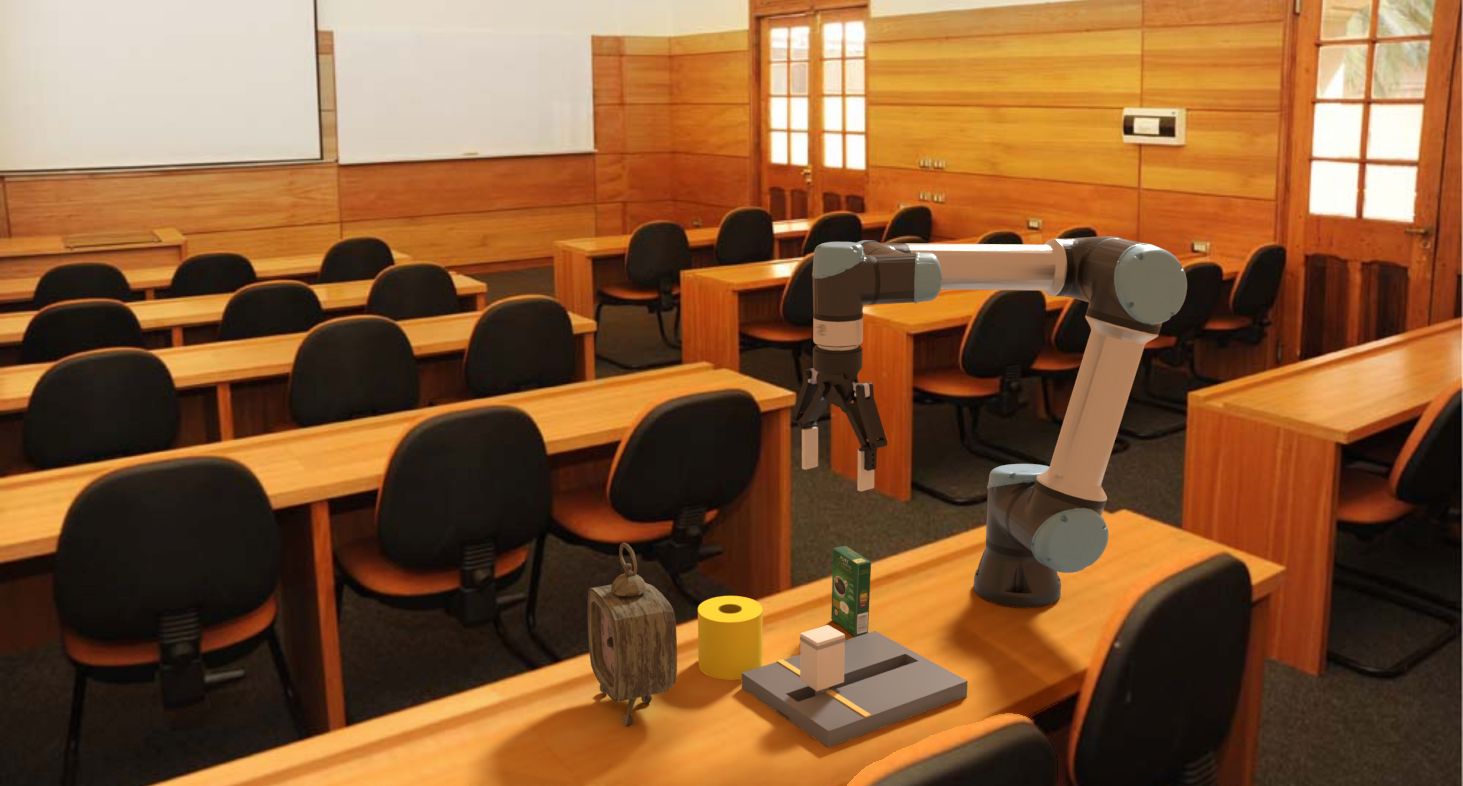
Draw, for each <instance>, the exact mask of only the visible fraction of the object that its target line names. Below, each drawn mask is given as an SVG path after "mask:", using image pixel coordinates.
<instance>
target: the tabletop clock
mask: <svg viewBox="0 0 1463 786" xmlns="http://www.w3.org/2000/svg"><path fill="white" fill-rule="evenodd" d="M624 549H626V551H627V552H628V554H629V555H630V557H631V560H632V564H633V565H632V564H631V563H630V562H628V563H626V561H625V559H624V555H623V551H624ZM618 550H619V553H618V554H619V555H618V556H619V559H620V564H621V566H622V569H623V570H624V573H622V574H620V575H618V576H617V577H616V578H614V580H613V581H612V584H608V585H603V586H602V585H601V586H595V587H589V588H588V589H587V608H586V609H587V636H588V637H587V639H588V652H589V658H590V659H589V660H590V666H591V669H592V672H593V674H594V676H595V678H596V680H597V681H598V683H599V684H600V685H599V691H600V692H601V693H603V694H606V695H607V696H608V697H609V698H610V699H611V700H612V701H613V702H616V703H619V702H624V701H628V704H627V705H628V706H627V713H626V714H625V715H624V716H622V719H621V720H622V724H623V725H624V726H625V727H630V726H632V725H633V723H634V717H633V715H632V713H633V709H634V706H635V702H636V701H637V699H639V698H641V702H642V703H643V704H649V703H651V701H652V700H653V695H654V696H655V695H658V694H663V693H666V692H667V691H668V690H669V689H671V688H672V687H673V686H674V685H675V684H676V682H677V674H678V642H677V640H678V636H677V622H676V614H675V610H674V609H673V606H672V605H671V603H670V602H669V600H668V599H667V598H666V597H665V596H664V594H663V593H662V592H660V591H659V590H658V589H657V588H656V587H655V586H654V585H652V584H649V583H647V582H645V580H644V579H643V577H641V576H640V575H639V574H637V573H638V564H637V563H638V562H637V557H636V554H635V551H634V549H633V548H632V547H631V546H630V544H629V543H626V542H622V543H621V544H620V545H619V549H618ZM632 567H633V568H632Z"/></svg>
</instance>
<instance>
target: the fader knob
mask: <svg viewBox="0 0 1463 786" xmlns="http://www.w3.org/2000/svg"><path fill="white" fill-rule="evenodd" d="M845 640H846V633H843V632H841V631H839V630H838V629H836V628H834V627H832V626H831V625H829V624H826V625H823V626H821V627H817V628H813V629H811V630H806V631H803V632H800V636H799V641H800V646H799V647H800V654H799V655H800V681H802V682H803V683H805V684H806V685H808V686H809V687H811V688H813V689H814V690H815V696H817V695H820V694H823V693H826V691H828V690H829V687H831V686H834V685H837V684H840V683H843V682H844V661H845Z"/></svg>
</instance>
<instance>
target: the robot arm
mask: <svg viewBox="0 0 1463 786" xmlns="http://www.w3.org/2000/svg"><path fill="white" fill-rule="evenodd" d="M1186 275H1187V274H1186V271H1185V269H1184V268H1183V266H1182V264H1181V261H1180V260H1179V259H1178V258H1177V256H1175V255H1174V254H1172V253H1171V252H1170V251H1168V250H1167V249H1164V248H1162V247H1160V246H1157V245H1154V244H1151V243H1150V244H1149V243H1143V242H1139V241H1135V240H1131V239H1126V238H1122V237H1119V236H1113V235H1112V236H1107V235H1105V236H1104V235H1103V236H1102V235H1101V236H1090V237H1088V236H1087V237H1075V238H1074V237H1073V238H1050V239H1048V240H1046V242H1045V243H1044V244H1006V243H1004V244H1002V243H999V244H998V243H997V244H995V243H993V244H989V243H985V244H984V243H912V242H911V243H899V242H898V243H895V242H894V243H892V242H891V243H890V242H889V243H888V242H878V241H877V240H867V239H866V240H860V241H857V242H854V241H853V242H852V241H828V242H824V243H821V244H818V245H817V246H816V247H815V248H814V250H813V262H812V273H811V276H812V296H813V297H812V298H813V300H812V301H813V306H812V307H813V308H812V309H813V311H812V312H813V314H812V315H813V316H812V317H813V323H812V324H813V325H812V327H813V330H812V332H813V337H812V339H813V340H812V341H813V343H814V344H816V345H814V347H813V348H812V368H807V369H804V370H803V375H802V376H803V381H802V384H801V388H800V390H799V393H798V396H797V398H796V401H795V405H794V408H793V410H792V413H791V415H790V418H791V419H790V420H791V422H794V423H795V422H796V423H797V426H798V428H799V429H800V433H799V434H800V437H799V438H800V446H801V469H802V470H805V471H806V470H809V469H815V468H817V467H818V468H819V427H818V423H817V421H818V420H819V418H820V417H821V416H822V414H823V412H824V411H825V409H826V408H827V407H828V406H829V405H833V406H835V407H837V408H840V411H841V412H842V413H845V415H846V416H847V419H848V421H849V423H850V426H851V428H852V430H853V432H854V434H855V436H856V438H857V440H858V442H859V444H860V447H859V448H857V483H856V484H857V491H858V492H864V491H867V490H872V489H874V488H875V470H876V468H877V459H878V458H877V455H878V454H877V453H878V452H877V451H878V449H880V448H884V447H887V445H888V441H887V436H886V434H885V430H884V427H883V423H882V420H881V417H880V413H879V410H878V406H877V403H876V401H875V400H876V399H875V396H874V393H875V392H874V383H872V382H864V383H863V382H862V383H861V382H859V377H858V375H859V372H860V371H861V370H862V369H863V347H862V346H861V344H862V343H863V341H864V310H863V309H864V306H874V305H886V304H887V305H888V304H889V305H891V304H908V303H909V304H911V303H912V304H913V303H914V304H918V303H924V302H931V301H933V300H935V299H936V298H938V296H939V294H940V292H941V290H943V291H945V290H947V291H948V290H950V291H951V290H952V291H956V290H957V291H966V290H967V291H1042V292H1043V293H1044V294H1045V295H1046V296H1047V297H1061V298H1062V297H1065V298H1070V299H1074V300H1075V299H1076V300H1079V301H1083V302H1086V303H1088V305H1087V310H1086V313H1085V316H1084V317H1085V320H1086V321H1087V323H1088V325H1089V327H1090V330H1091V331H1090V333H1089V337H1088V339H1087V343H1086V346H1085V350H1084V353H1083V357H1082V360H1081V363H1080V367H1079V369H1078V372H1077V376H1076V379H1075V382H1074V386H1073V390H1072V392H1071V395H1070V398H1069V402H1068V405H1067V409H1066V413H1065V415H1064V418H1063V422H1062V425H1061V427H1060V428H1061V429H1060V433H1059V435H1058V439H1057V442H1056V445H1055V447H1054V452H1053V455H1052V458H1051V461H1050V465H1049V466H1048V465H1045V464H1044V465H1043V464H1038V463H1037V464H1034V463H1014V464H1013V463H1011V464H1010V463H1009V464H1005V465H1000V466H996V467H995V468H993V469H992V470H990V473H989V476H988V483H987V486H986V487H987V488H986V489H987V501H986V502H987V503H986V524H985V525H986V530H985V531H986V532H985V548H984V551H983V553H982V555H981V557H980V560H979V563H978V565H977V566H978V567H977V569H976V571H975V573H974V576H973V590H974V592H975V594H977V595H978V596H979V597H980V598H981V599H983V600H985V601H989V602H991V603H993V604H996V605H997V604H998V605H1000V606H1005V607H1013V608H1039V607H1044V606H1048V605H1051V604H1053V603H1055V602H1057V601H1058V600H1059V599H1060V597H1061V592H1062V582H1061V581H1062V580H1061V578H1060V576H1059V575H1058V573H1064V574H1073V573H1078V572H1082V571H1083V570H1085V569H1086V568H1088V567H1089V566H1093V564H1094V563H1096V562H1097V561H1098V560H1099V559H1100V558H1101V557H1102V555H1103V554H1104V552H1105V550H1106V547H1107V546H1108V542H1109V527H1108V526H1107V523H1106V521H1105V518H1103V517H1102V516H1103V512H1104V509H1105V506H1106V503H1107V500H1108V497H1107V494H1106V492H1105V491H1104V489H1103V487H1102V483H1103V480H1104V477H1105V472H1106V470H1107V466H1108V464H1109V460H1110V457H1111V454H1112V452H1113V448H1114V444H1115V440H1116V438H1117V435H1118V432H1119V429H1120V425H1121V422H1122V420H1123V416H1124V413H1125V410H1126V406H1127V404H1128V400H1129V396H1130V393H1131V390H1132V387H1133V384H1134V381H1135V377H1136V374H1137V371H1138V369H1139V366H1140V365H1139V364H1140V362H1141V358H1142V356H1143V352H1144V349H1145V346H1146V344H1147V343H1149V342H1151V341H1152V340H1154V339H1157V338H1158V337H1159V334H1160V331H1161V329H1162V324H1163V323H1165V322H1167V321H1169V320H1170V319H1171V317H1173V316H1175V315H1177V313H1178V312H1179V311H1180V310H1181V308H1182V306H1183V305H1184V302H1185V300H1186V296H1187V290H1188V281H1187V280H1188V279H1187V276H1186Z"/></svg>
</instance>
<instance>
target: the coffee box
mask: <svg viewBox="0 0 1463 786" xmlns="http://www.w3.org/2000/svg"><path fill="white" fill-rule="evenodd" d="M871 572H872V561H870V560H869V559H867V558H865V557H864V556H863V555H861V554H859V553H858V552H856V551H854V550H853V549H852V548H850V547H848V546H847V545H844V546H843V545H842V546H836V547H833V548H832V575H831V577H832V578H831V580H832V582H831V614H830V619H831V620H832V621H833V622H834V623H835V624H836V625H838V626H840V627H842V628H843V629H845V630H846V631H847V632H848V633H849V634H851V635H853V637H857V636H860V635H864V634H867V633H869V622H870V620H869V619H870V617H869V616H870V596H871V595H870V594H871V593H870V592H871V577H872V576H871V575H872V574H871Z"/></svg>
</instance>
